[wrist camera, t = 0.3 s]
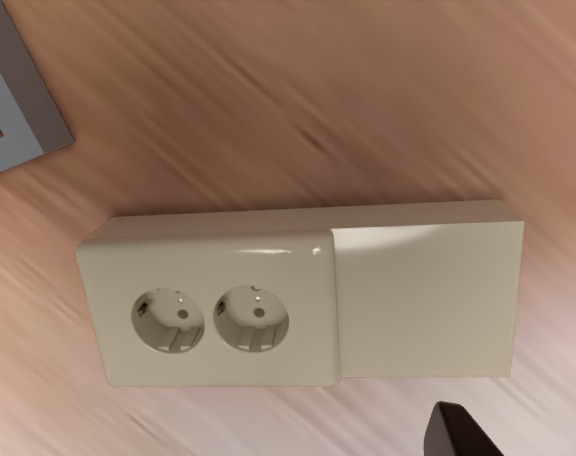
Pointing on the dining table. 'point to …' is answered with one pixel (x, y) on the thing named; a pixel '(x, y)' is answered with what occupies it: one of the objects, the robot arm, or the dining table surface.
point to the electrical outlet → (305, 294)
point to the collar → (25, 104)
